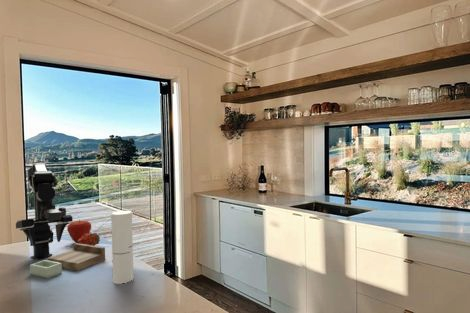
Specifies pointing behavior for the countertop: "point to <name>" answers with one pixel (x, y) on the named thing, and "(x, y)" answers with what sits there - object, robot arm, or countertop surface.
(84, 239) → the dragon fruit
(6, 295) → the countertop surface
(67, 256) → the walnut shelf
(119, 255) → the cylindrical container
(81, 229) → the apple
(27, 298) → the countertop surface
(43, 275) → the sage tray
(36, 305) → the countertop surface
